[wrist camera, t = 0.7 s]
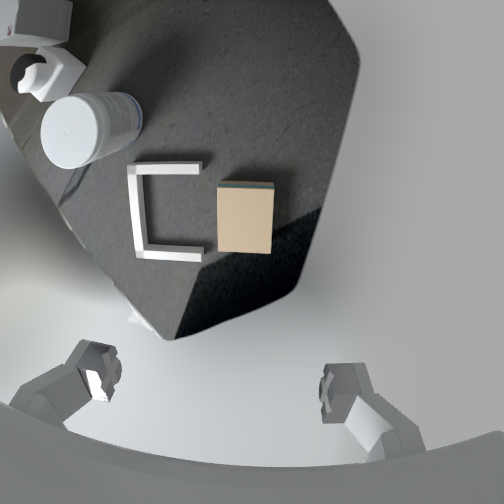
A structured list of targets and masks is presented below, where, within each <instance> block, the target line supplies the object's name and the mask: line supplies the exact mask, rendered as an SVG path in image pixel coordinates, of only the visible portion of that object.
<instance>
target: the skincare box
mask: <svg viewBox="0 0 504 504" xmlns="http://www.w3.org/2000/svg"><path fill="white" fill-rule="evenodd" d="M72 8H73V2H70V1H67V0H0V46H22V47H37V48H39V47H40V46H52V45H55V44H59V43H63V42H67V41H69V32H70V23H71V15H72Z"/></svg>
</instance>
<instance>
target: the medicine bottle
mask: <svg viewBox="0 0 504 504" xmlns="http://www.w3.org/2000/svg"><path fill="white" fill-rule="evenodd" d="M85 69H86V66H85V65H84V64H83V63H82V62H80V61H79V60H78V59H77V58H75V57H74V56H73V55H72V54H70V53H69V52H68V51H67V50H65V49H63V48H56V47H49V46H40V47H39V49H38V51H37V52H36V54H24V55H22V56H21V57H20V58H19V59H18V60H17V61H16V62H15V64H14V65H13V67H12V70H11V74H10V83H11V86H12V88H13V90H14V91H15V92H17V93H26V92H31V93H32V94H33V95H34V96H35V97H36V98H37V99H38V100H39V101H40V102H48V101H57V100H58V99H60V98H62V97H65V96H68V95H69V93H70V91H71V90H72V88H73V87H74V85H75V84H76V82H77V81H78V79H79V77H80V76H81V75H82V73H83V72H84V70H85Z"/></svg>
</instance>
